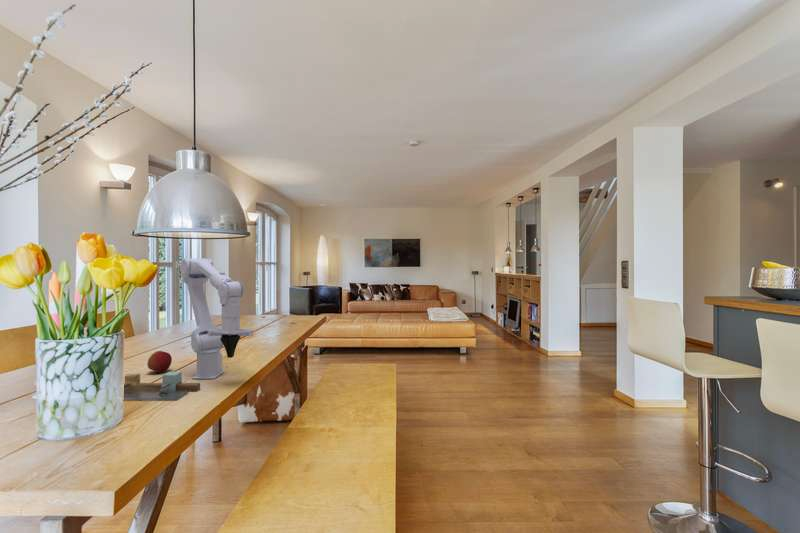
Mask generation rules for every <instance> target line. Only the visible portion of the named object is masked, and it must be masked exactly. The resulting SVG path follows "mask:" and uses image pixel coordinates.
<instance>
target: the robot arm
mask: <svg viewBox="0 0 800 533" xmlns="http://www.w3.org/2000/svg"><path fill="white" fill-rule="evenodd" d="M179 270H180V274H181V279H182V282H183V283H184V284H186V286H187V290H188V295H189V299H190V302H191V306H192V311H193V315H194V316H193V317H194V320H195V324H196V328H195V329H193V331H191V334H190V339H191V341H190V345H191V349H192V351H193V352H194V353H196V374H195V375H194V376H192V377H191V378H192V379H194V380H196V379H197V380H204V379H205V380H210V379H211V380H214V379H216V378H217V377H219V376H221V375H222V374H224V373H225V370H224V369H223V354H222V352H221V349H222V348H224V350H225V351H226V358H227V359H232V358H233V357H235V352H236V348H237V346H238V343H239V341H240V339H241V337H252V336H254V329H244V328H240V327H241V321H240V319H241V318H240V316H241V314H240V311H241V308H240V307H241V298H242V297H243V296H244V286H243V283H242V282H241V281H240V280H236V281H234V280H233V279H232V278H231V277H229V276H228V275H227V274H226V272H225V271H220V270H219V271H218V270H217V268H215V267H214V262H213V260H212V259H211V258H209V257H208V258H207V257H206V258H188V257H185V258H183V259H182V260H181V262H180V267H179ZM208 281H209V283H210V284H211V286H212V287H213V288H214V289H215V290H217V294H218V297H219V303H220V304H221V327H219V325H216V324H214V323H213V322H212V317H211V314H210V309H209V306H208V301H207V298H206V294H205V290H204V284H206V283H207V282H208Z"/></svg>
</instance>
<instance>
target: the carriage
mask: <svg viewBox="0 0 800 533" xmlns="http://www.w3.org/2000/svg"><path fill="white" fill-rule="evenodd" d="M182 373H183V372H182V371H168V372H166V373H164V374H162V383H163V385H162V386H161V389H160V393H163V390H176V384H178V383H183V378H182V376H183V375H182Z"/></svg>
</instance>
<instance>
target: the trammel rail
mask: <svg viewBox="0 0 800 533" xmlns="http://www.w3.org/2000/svg"><path fill="white" fill-rule="evenodd" d="M123 384H124V390H160V389H161V386H162V385H163V382H141V373H129V374H127V375H125V376H124V383H123ZM176 390H188V393H189V392H190V393H191V392H198V391H200V390H201V382H182V383H178V384H176Z"/></svg>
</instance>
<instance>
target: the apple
mask: <svg viewBox="0 0 800 533" xmlns="http://www.w3.org/2000/svg"><path fill="white" fill-rule="evenodd" d="M172 362H173V361H172V355H171V354H170V353H169V352H166V351H162V350H158V351H154V352H153V353H152V354H151V355H150V356H149V357H148V358H147V368H148V369H149V370H151V371H154V372H157V373H159V374H161V373H165V372H167V371H168V370H169V368H170V367H171V364H172Z"/></svg>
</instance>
